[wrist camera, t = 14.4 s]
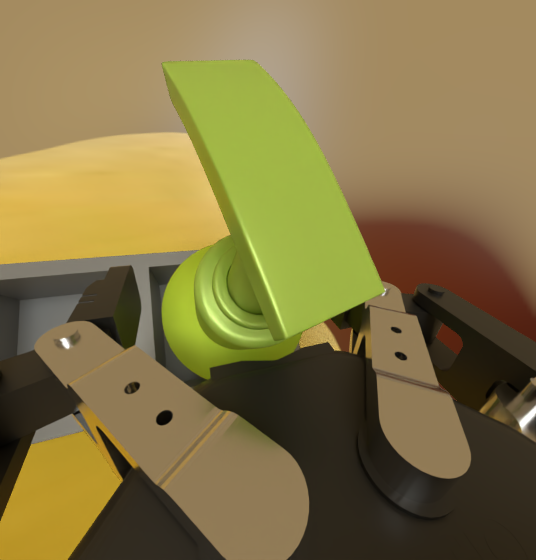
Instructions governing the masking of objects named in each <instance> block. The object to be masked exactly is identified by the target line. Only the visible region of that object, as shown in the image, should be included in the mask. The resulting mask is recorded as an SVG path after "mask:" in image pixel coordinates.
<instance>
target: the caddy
mask: <svg viewBox="0 0 536 560" xmlns="http://www.w3.org/2000/svg"><path fill="white" fill-rule="evenodd" d="M197 251H199V250H194V251H180V252H166V253H152V254H139V255H125V256H111V257H97V258H84V259H70V260H56V261H42V262H28V263H15V264H1V265H0V361H2V360H5V359H8V358H11V357H14V356H17V355H20V354H23V353H26V352H29V351H32V350H34V346H35V343H36V341H37V340H38V339H39V338H40V337H41V336H42V335H43V334H44V333H46V332H47V331H49V330H51V329H53V328H55V327H57V326H60V325H62V324H66V322H67V321H68V319H69V317H70V316H71V314H72V312H73V310H74V309H75V307H76V305H77V304H78V302H79V300H80V298H81V297H82V295H83V293H84V291H85V289H86V288H87V287H88V286H89V285H91V284H92V283H93V282H95V281H96V280H104V279H105V277H106V275H107V272H108V270H109V268H110V267H116V266H128V265H131V266H132V267H133V270H134V273H135V278H136V282H137V286H138V290H139V294H140V298H141V316H140V321H139V327H138V332H137V338H136V343H135V346H137V347H138V348H140V349H141V350H142V351H144V352H145V353H146V354H148V355H149V356H150V357H152V358H153V359H154V360H155V361H157V362H158V363H159V364H161V365H162V366H163V367H165V368H166V369H167V370H168V371H170V372H171V373H172V374H174V375H175V376H176V377H178V378H179V379H180V380H181V381H183V382H184V383H185V384H187V385H188V386H189V387H191V388H192V389H193V388H194V387H196V386H197V385H199V384H201V383H202V382H204V381H206V380H207V379H205V378H202V377H200V376H199V375H197V374H195V373H194V372H192V371H191V370H189V369H188V368H187V367H186V366H185V365H184V364H183V363H182V362H181V361H180V360H179V359H178V358H177V357H176V355H175V354H174V352H173V351H172V349H171V348H170V346H169V344H168V341H167V339H166V336H165V333H164V330H163V325H162V314H161V313H162V301H163V296H164V292H165V289H166V287H167V284H168V282H169V280H170V278H171V277H172V275H173V273H174V272H175V271H176V269H177V268H178V267H179V266H180V265H181V264H182V263H183V262H184V261H185V260H186V259H187V258H188V257H189V256H191V255H192V254H194V253H195V252H197ZM299 349H300V346H299V343H298V345H297V347H296V349H295V350H294V352H295V351H297V350H299ZM82 431H84V430H83V429H82V428H81V427H80V425H79V424H78V423H77V421H76V420H75V419H74V418H73V416H72V415H71V414H70V415H68V416H66V417H64V418H62V419H60V420H58V421H55V422H53V423H51V424H49V425H47V426H45V427H43V428H40V429H38V430H36V432H35V435H34V437H33V440H32V442H31V444H34V443H38V442H42V441H46V440H50V439H54V438H58V437H62V436H66V435H70V434H74V433H78V432H82Z"/></svg>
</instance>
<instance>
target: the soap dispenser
mask: <svg viewBox="0 0 536 560" xmlns="http://www.w3.org/2000/svg"><path fill="white" fill-rule="evenodd" d="M162 68H163V72H164V75H165V79H166V83H167V87H168V91H169V95H170V98H171V101H172V103H173V105H174V107H175V109H176V111H177V113H178V115H179V116H180V119H181V120H182V122H183V124H184V126H185V128H186V131H187V133H188V135H189V137H190V139H191V141H192V143H193V146H194V148H195V150H196V152H197V155H198V157H199V159H200V161H201V164H202V166H203V168H204V171H205V173H206V175H207V178H208V180H209V183H210V185H211V187H212V190H213V192H214V195H215V197H216V200H217V202H218V204H219V207H220V209H221V212H222V214H223V217H224V219H225V222H226V224H227V227H228V229H229V231H230V234H231V235H229V236H227V237H225V238H223V239H221V240H219V241H218V242H216V243H215V244H214V245H210V246H208V247H205V248H203V249H201V250H199V251H197V252H195V253H194V254H192V255H191V256H189V257H188V258H187V259H186V260H185V261H184V262H183V263H182V264H181V265H180V266H179V267H178V268H177V269H176V271H175V272H174V273H173V275H172V277H171V278H170V280H169V282H168V284H167V287H166V289H165V292H164V296H163V301H162V313H161V314H162V325H163V330H164V333H165V336H166V339H167V341H168V344H169V346H170V348H171V349H172V351H173V352H174V354H175V355H176V357H177V358H178V359H179V360H180V361H181V362H182V363H183V364H184V365H185V366H186V367H187V368H188V369H189V370H191V371H192V372H194V373H195V374H197V375H199V376H200V377H202V378H205V379H207V380H208V379H210V368H211V367H215V366H220V365H225V364H229V363H234V362H238V361H264V360H278V359H280V358H282V357H284V356H286V355H288V354H290V353H293V352H294V350H295V349H296V347H297V345H298V343H299V340H300V338H301V335H302V332H303V331H305V330H307V329H309V328H311V327H314V326H316V325H318V324H320V323H322V322H324V321H326V320H328V319H330V318H332V317H335V316H337V315H339V314H341V313H343V312H345V311H347V310H349V309H351V308H353V307H356V306H358V305H360V304H362V303H364V302H366V301H368V300H370V299H372V298H374V297H377V296H379V295H381V294H383V293H384V292H385V289H384V287H383V284H382V282H381V280H380V277H379V275H378V272H377V270H376V268H375V265H374V264H373V261H372V259H371V256H370V254H369V252H368V249H367V247H366V245H365V242H364V240H363V238H362V236H361V233H360V231H359V229H358V226H357V224H356V222H355V220H354V218H353V215H352V213H351V211H350V209H349V206H348V204H347V202H346V200H345V198H344V195H343V193H342V191H341V189H340V187H339V185H338V183H337V181H336V178H335V177H334V174H333V172H332V170H331V168H330V166H329V164H328V162H327V160H326V158H325V156H324V155H323V153H322V151H321V149H320V147H319V145H318V143H317V141H316V140H315V138H314V136H313V134H312V133H311V131H310V129H309V128H308V126H307V124H306V123H305V121H304V119H303V118H302V116H301V115H300V113H299V112H298V110H297V109H296V107H295V106H294V105H293V103H292V102H291V100H290V99H289V98H288V97H287V95H286V94H285V93H284V92H283V90H282V89H281V88H280V86H279V85H278V84H277V83H276V82H275V81H274V79H273V78H272V77H271V76H270V75H269V74H268V73H267V72H266V71H265V70H264V69H263V68H262V67H261V66H260V65H259V64H258V63H257V62H255V61H253V60H216V61H215V60H214V61H173V62H172V61H168V62H163V63H162Z"/></svg>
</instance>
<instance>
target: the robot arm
mask: <svg viewBox="0 0 536 560" xmlns="http://www.w3.org/2000/svg"><path fill="white" fill-rule="evenodd" d="M381 282H382V284H383V287H384V289H385V292H384V293H383V294H381V295H379V296H377V297H374V298H372V299H370V300H368V301H366V302H364V303H362V304H360V305H358V306H356V307H353V308H351V309H349V310H347V311H345V312H343V313H341V314H339V315H337V316H335V317H332V318H331V320H332V321H333V322H334V323H335V324H336V325H337V326H338V328H339V329H345V328H350V327H352V332H351V336H350V351H349V352H344V351H334V349H333V348H332V347H331V345H330V344H329V343H328V342H327V343H322V344H318V345H313V346H308V347H304V348H301V349H299V350H297V351H295V352H293V353H290V354H288V355H286V356H284V357H282V358H280V359H278V360H264V361H238V362H234V363H229V364H225V365H220V366H215V367H211V368H210V379H208V380H206V381H204V382H202V383H201V384H199V385H197V386H196V387H194V388H193V389H192V388H191V387H189V386H188V385H187V384H185V383H184V382H183V381H181V380H180V379H179V378H178V377H176V376H175V375H174V374H172V373H171V372H170V371H168V370H167V369H166V368H165V367H163V366H162V365H161V364H159V363H158V362H157V361H155V360H154V359H153V358H152V357H150V356H149V355H148V354H146V353H145V352H144V351H142V350H141V349H140V348H138V347H137V346H135V343H136V338H137V332H138V327H139V321H140V316H141V298H140V294H139V290H138V286H137V282H136V278H135V273H134V270H133V267H132V266H131V265H128V266H116V267H110V268H109V270H108V272H107V275H106V277H105V279H104V280H96V281H95V282H93V283H92V284H91V285H89V286H88V287H87V288H86V289H85V291H84V293H83V295H82V297H81V298H80V300H79V302H78V304H77V305H76V307H75V309H74V310H73V312H72V314H71V316H70V317H69V319H68V321H67V322H66V324H62V325H60V326H57V327H55V328H53V329H51V330H49V331H47V332H46V333H44V334H43V335H42V336H41V337H40V338H39V339H38V340H37V341H36V343H35V346H34V350H32V351H29V352H26V353H23V354H20V355H17V356H14V357H11V358H8V359H5V360H2V361H0V521H1V518H2V516H3V513H4V510H5V508H6V505H7V503H8V500H9V498H10V495H11V493H12V490H13V488H14V485H15V483H16V480H17V478H18V475H19V473H20V470H21V468H22V465H23V463H24V460H25V458H26V455H27V453H28V450H29V448H30V445H31V442H32V440H33V437H34V435H35V432H36V430H38V429H40V428H43V427H45V426H47V425H49V424H51V423H53V422H55V421H58V420H60V419H62V418H64V417H66V416H68V415H70V414H71V415H72V416H73V418H74V419H75V420H76V421H77V423H78V424H79V425H80V427H81V428H82V429H83V430H84V432H85V433H86V434H87V435H88V437H89V438H90V439H91V441H92V442H93V443H94V444H95V446H96V447H97V448H98V450H99V451H100V452H101V454H102V455H103V456H104V458H105V459H106V461H107V462H108V464H109V466H110V467H111V469H112V470H113V472H114V473H115V474H116V476H117V477H118V479H119V480H120V481H121V482H122V483H121V484H120V486H119V487H118V488H117V490H116V491H115V493H114V494H113V496H112V497H111V498H110V500H109V501H108V503H107V504H106V506H105V507H104V508H103V510H102V511H101V513H100V514H99V516H98V517H97V518H96V520H95V521H94V523H93V524H92V526H91V527H90V528H89V530H88V531H87V533H86V534H85V536H84V537H83V538H82V540H81V541H80V543H79V544H78V546H77V547H76V548H75V550H74V551H73V553H72V554H71V556H70V557H69V558H68V560H536V342H534V341H532V340H531V339H529V338H527V337H526V336H524V335H522V334H520V333H519V332H517V331H516V330H514V329H512V328H511V327H509V326H507V325H506V324H504V323H502V322H501V321H499V320H497V319H495V318H494V317H492V316H491V315H489V314H487V313H485V312H484V311H482V310H481V309H479V308H477V307H476V306H474V305H472V304H471V303H469V302H467V301H465V300H464V299H462V298H460V297H459V296H457V295H455V294H454V293H452V292H450V291H449V290H447V289H445V288H443V287H440V286H437V285H432V284H419V285H417V287H416V290H415V292H414V294H402V293H401V292H400V290H399V289H398V288H397V287H395V286H393V285H391V284H389V283H386V282H383V281H381ZM442 323H444V324H445V325H446V326H448V327H449V328H451V329H452V330H453V331H455V332H456V333H457V334H458V335H459V336H460V337H461V339H462V341H463V347H462V349H461V351H460V353H459V354H458V355H457V354H455V353H454V352H453V351H452V350H450V349H449V348H448V347H447V346H445V345H444V344H443V343H442V342H441V341H439V340H438V339H437V338H436V335H437V333H438V331H439V329H440V327H441V325H442ZM438 382H439V383H440V384H441V385H442V386H443V387H444V388H445V389H446V390H447V391H448V392H449V393H450V394H451V395H452V396H453V397H454V398H455V399H456V400H457V401H456V400H454V399H452V398H451V396H450V394H449V393H448V392H447V391H445V390H443V389H441V388H440V387H439V384H438Z"/></svg>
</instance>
